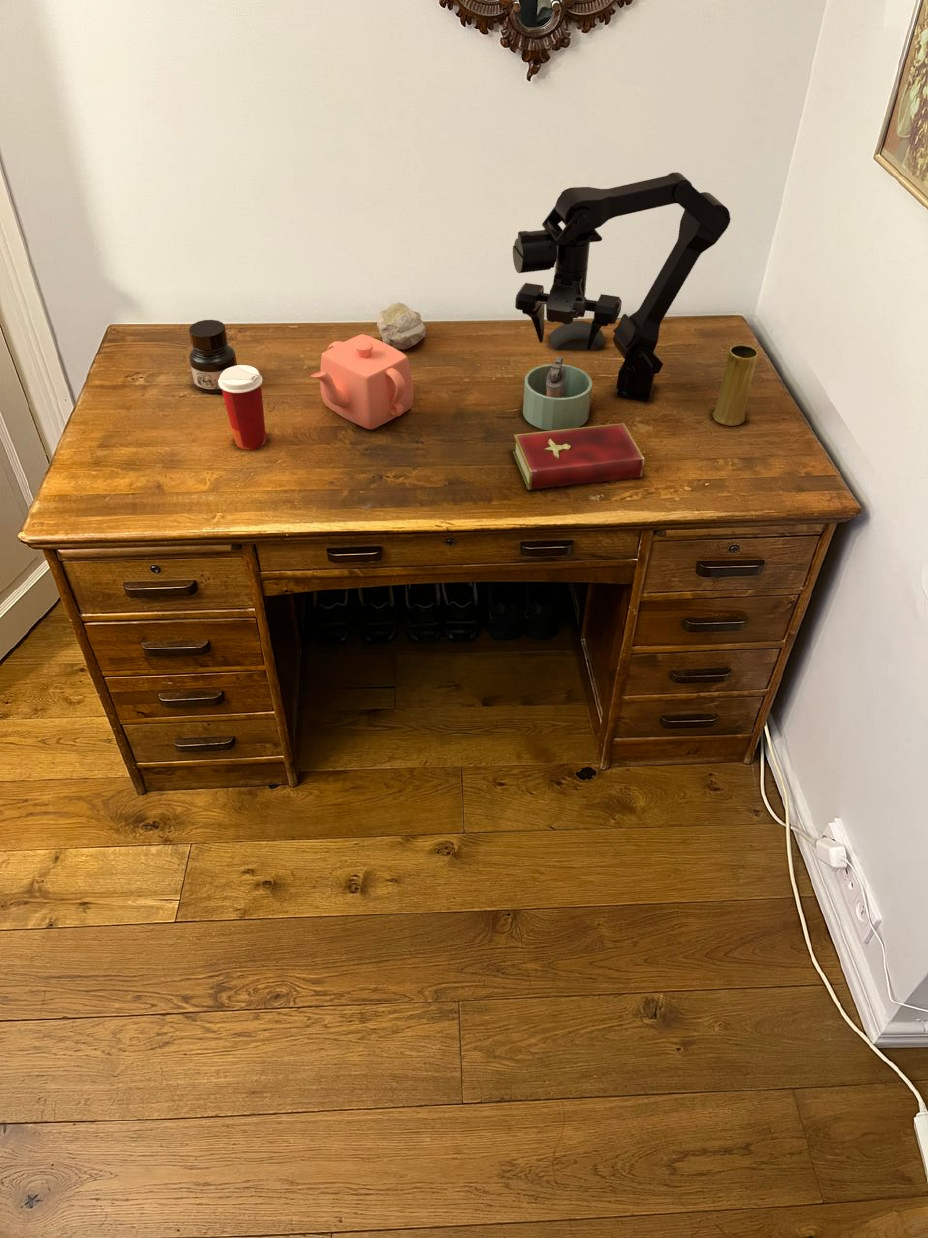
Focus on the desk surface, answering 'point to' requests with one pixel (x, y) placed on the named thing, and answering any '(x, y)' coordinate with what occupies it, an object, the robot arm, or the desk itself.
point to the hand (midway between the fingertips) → (564, 345)
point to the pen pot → (557, 399)
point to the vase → (735, 385)
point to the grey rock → (400, 326)
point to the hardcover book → (578, 456)
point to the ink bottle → (210, 354)
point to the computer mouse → (575, 337)
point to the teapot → (365, 381)
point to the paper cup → (244, 405)
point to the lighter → (556, 379)
